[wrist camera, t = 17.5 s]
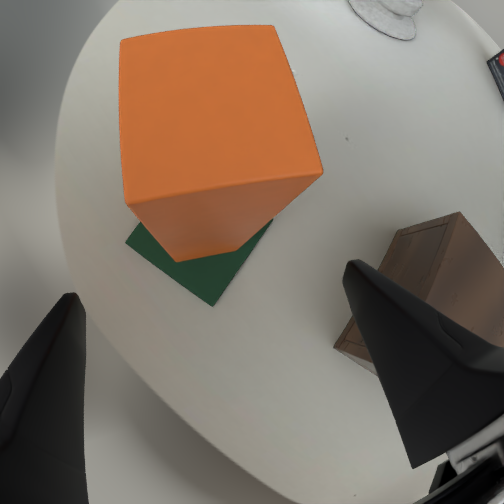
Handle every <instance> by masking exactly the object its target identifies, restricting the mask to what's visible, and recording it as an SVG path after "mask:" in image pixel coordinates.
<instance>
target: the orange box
mask: <svg viewBox="0 0 504 504" xmlns="http://www.w3.org/2000/svg"><path fill="white" fill-rule="evenodd" d="M119 130H120V149H121V164H122V176H123V187H124V197H125V203H126V204H127V206H128V207H129V208H130V209H131V211H132V212H133V213H134V214H135V215H136V217H137V218H138V219H139V220H140V221H141V223H142V224H143V225H144V226H145V227H146V228H147V230H148V231H149V232H150V233H151V234H152V235H153V237H154V238H155V239H156V240H157V241H158V242H159V244H160V245H161V246H162V247H163V248H164V249H165V250H166V252H167V253H168V254H169V255H170V256H171V257H172V258H173V259H174V261H175V262H181V261H186V260H191V259H196V258H202V257H207V256H212V255H217V254H222V253H228V252H233V251H236V250H238V249H239V248H240V247H241V246H242V245H243V244H244V243H245V242H247V241H248V240H249V239H250V238H251V237H252V236H253V235H254V234H256V233H257V232H258V231H259V230H260V229H261V228H262V227H263V226H265V225H266V224H267V223H268V222H269V221H270V220H271V219H272V218H274V217H275V216H276V215H277V214H278V213H279V212H280V211H281V210H283V209H284V208H285V207H286V206H287V205H288V204H289V203H290V202H292V201H293V200H294V199H295V198H296V197H297V196H298V195H299V194H301V193H302V192H303V191H304V190H305V189H306V188H307V187H309V186H310V185H311V184H312V183H313V182H314V181H315V180H317V179H318V178H319V177H320V176H321V175H322V174H323V167H322V164H321V160H320V157H319V153H318V150H317V146H316V143H315V140H314V137H313V133H312V130H311V127H310V124H309V121H308V118H307V114H306V111H305V108H304V105H303V102H302V99H301V96H300V94H299V91H298V88H297V85H296V82H295V79H294V77H293V74H292V71H291V68H290V66H289V63H288V60H287V58H286V55H285V52H284V50H283V47H282V45H281V42H280V40H279V37H278V35H277V32H276V30H275V27H274V26H272V25H230V26H212V27H199V28H189V29H180V30H172V31H165V32H159V33H153V34H147V35H141V36H136V37H131V38H127V39H123V40H121V42H120V54H119Z"/></svg>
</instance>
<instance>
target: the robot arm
mask: <svg viewBox="0 0 504 504" xmlns="http://www.w3.org/2000/svg"><path fill="white" fill-rule="evenodd" d="M342 282H343V286H344V289H345V292H346V295H347V298H348V301H349V305H350V308H351V311H352V314H353V317H354V320H355V322H356V325H357V327H358V330H359V332H360V334H361V336H362V339H363V341H364V343H365V346H366V348H367V350H368V353H369V355H370V358H371V360H372V362H373V365H374V367H375V370H376V372H377V375H378V377H379V380H380V382H381V385H382V387H383V390H384V392H385V395H386V397H387V400H388V402H389V405H390V408H391V410H392V413H393V416H394V418H395V420H396V424H397V427H398V430H399V432H400V435H401V438H402V441H403V444H404V447H405V449H406V452H407V455H408V458H409V461H410V464H411V467H412V469H414V468H416V467H418V466H420V465H422V464H424V463H426V462H428V461H430V460H432V459H434V458H436V457H438V456H440V455H442V454H443V453H445V452H446V454H447V456H448V458H449V459H448V460H446V461H445V462H443V463H442V464H440V465H438V467H437V470H436V473H435V476H434V479H433V482H432V484H431V487H430V490H429V495H427V496H425V497H424V498H422V499H420V500H418V501H417V502H415V503H413V504H504V347H499V346H496V345H493V344H491V343H489V342H488V341H486V340H484V339H483V338H481V337H479V336H478V335H476V334H474V333H473V332H471V331H469V330H468V329H466V328H464V327H463V326H461V325H459V324H458V323H456V322H455V321H453V320H452V319H450V318H449V317H447V316H446V315H444V314H443V313H441V312H440V311H437V309H435V308H434V307H432V306H431V305H429V304H428V303H426V302H425V301H423V300H422V299H420V298H419V297H417V296H416V295H414V294H413V293H411V292H410V291H408V290H407V289H405V288H404V287H402V286H401V285H399V284H398V283H396V282H394V281H393V280H391V279H390V278H388V277H387V276H385V275H384V274H382V273H380V272H379V271H377V270H376V269H374V268H373V267H371V266H369V265H368V264H366V263H365V262H363V261H361V260H359V259H357V260H350V261H348V263H347V265H346V269H345V272H344V275H343V280H342ZM85 365H86V312H85V309H84V307H83V305H82V303H81V301H80V299H79V296H78V295H77V294H76V293H74V292H73V293H66V294H64V295H63V296H62V297H61V298H60V299H59V301H58V302H57V303H56V304H55V306H54V307H53V308H52V309H51V311H50V312H49V313H48V314H47V315H46V317H45V318H44V319H43V321H42V322H41V323H40V325H39V326H38V327H37V328H36V330H35V331H34V332H33V334H32V335H31V336H30V338H29V339H28V340H27V342H26V343H25V344H24V346H23V347H22V349H21V350H20V351H19V353H18V354H17V355H16V357H15V358H14V360H13V361H12V363H11V364H10V365H9V367H8V370H6V371H5V373H4V374H3V376H2V377H1V379H0V504H89V502H88V493H87V482H86V473H85V458H84V384H85V367H86V366H85Z"/></svg>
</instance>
